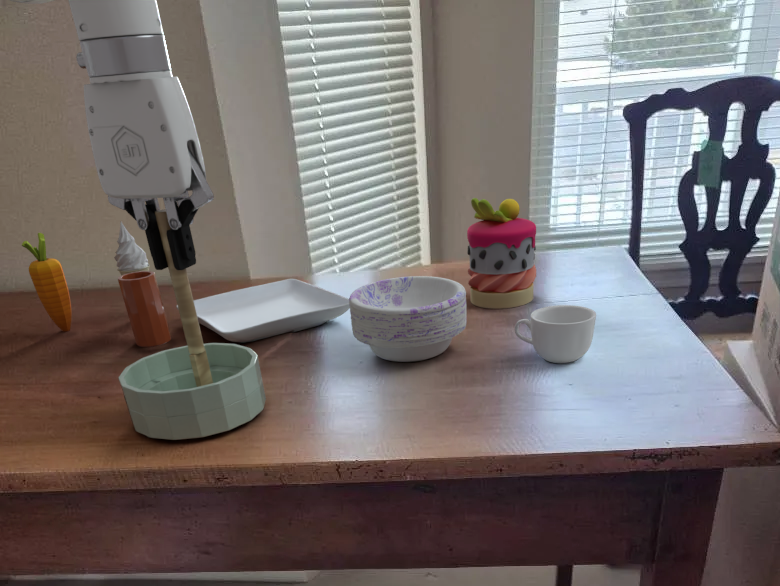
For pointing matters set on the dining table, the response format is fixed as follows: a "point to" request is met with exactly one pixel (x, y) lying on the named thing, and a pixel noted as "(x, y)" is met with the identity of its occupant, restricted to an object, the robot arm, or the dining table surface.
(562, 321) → the teacup
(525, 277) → the cake
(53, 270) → the carrot
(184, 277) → the stirring stick
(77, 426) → the dining table surface
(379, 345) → the paper bowls
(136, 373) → the mixing bowl
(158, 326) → the utensil crock
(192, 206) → the robot arm
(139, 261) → the ice cream cone
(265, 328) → the plate
